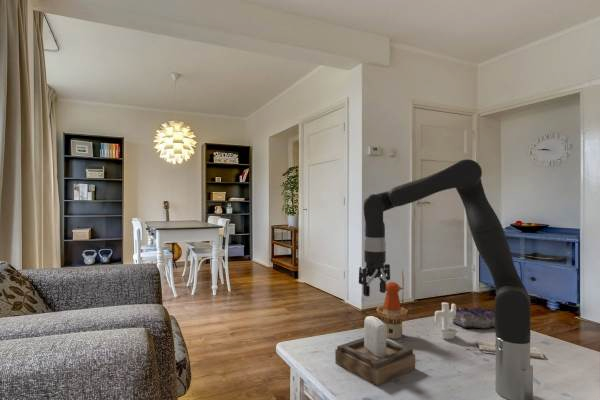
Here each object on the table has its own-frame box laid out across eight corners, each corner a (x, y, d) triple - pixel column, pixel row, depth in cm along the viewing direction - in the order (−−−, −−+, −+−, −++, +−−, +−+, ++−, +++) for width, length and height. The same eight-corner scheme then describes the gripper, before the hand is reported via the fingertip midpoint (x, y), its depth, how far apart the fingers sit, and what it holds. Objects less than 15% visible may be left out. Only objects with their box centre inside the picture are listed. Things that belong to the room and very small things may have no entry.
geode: (489, 321, 177) (491, 302, 175) (502, 333, 165) (504, 313, 164) (448, 319, 177) (450, 300, 175) (458, 331, 165) (461, 311, 164)
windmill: (415, 344, 148) (416, 272, 148) (381, 344, 147) (381, 272, 148) (403, 329, 165) (403, 264, 165) (372, 329, 165) (373, 264, 165)
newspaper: (480, 354, 139) (480, 348, 140) (476, 346, 151) (476, 339, 151) (548, 363, 132) (547, 356, 132) (538, 353, 143) (538, 346, 144)
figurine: (431, 334, 159) (431, 300, 159) (450, 333, 160) (450, 300, 160) (439, 340, 152) (439, 305, 152) (460, 339, 153) (460, 304, 153)
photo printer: (388, 357, 124) (388, 321, 124) (377, 358, 123) (377, 323, 123) (372, 345, 134) (372, 312, 134) (362, 347, 132) (362, 314, 132)
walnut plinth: (415, 368, 126) (415, 350, 126) (377, 385, 114) (377, 365, 114) (372, 349, 142) (372, 333, 142) (335, 363, 130) (335, 345, 130)
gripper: (369, 252, 121) (369, 299, 121) (395, 249, 130) (395, 293, 130) (353, 249, 127) (353, 295, 127) (379, 246, 136) (379, 289, 136)
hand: (374, 294), depth 128 cm, fingers open, 8 cm apart
